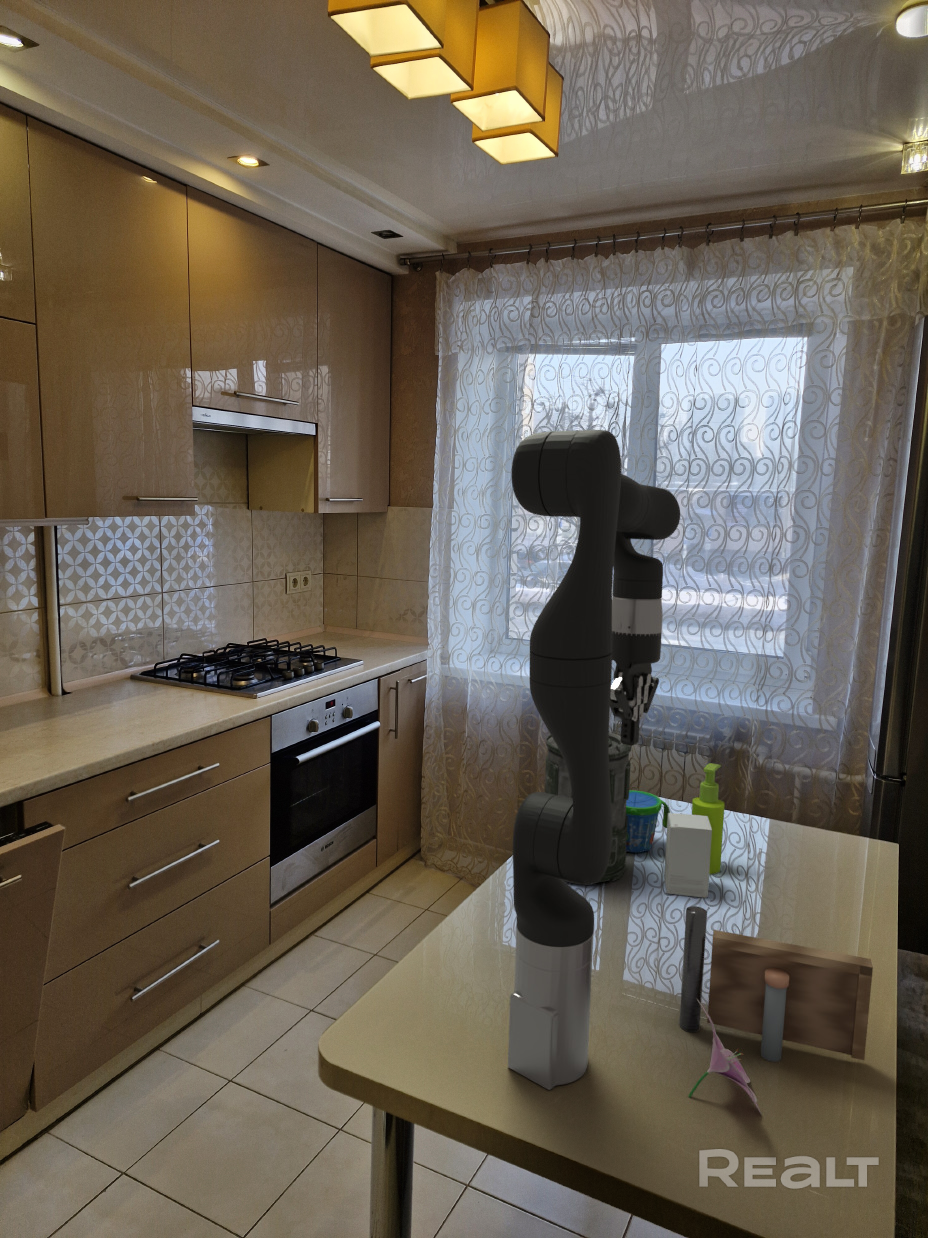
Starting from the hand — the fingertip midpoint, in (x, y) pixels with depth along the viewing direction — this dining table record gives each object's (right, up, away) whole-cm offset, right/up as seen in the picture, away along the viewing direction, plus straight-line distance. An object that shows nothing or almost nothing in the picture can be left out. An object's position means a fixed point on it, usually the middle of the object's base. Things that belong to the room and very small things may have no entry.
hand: (629, 743), depth 120 cm
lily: (+6, -37, -27) cm, 46 cm away
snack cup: (+10, -28, +45) cm, 54 cm away
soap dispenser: (+22, -29, +36) cm, 51 cm away
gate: (+16, -35, -18) cm, 42 cm away
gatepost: (+5, -35, -14) cm, 38 cm away
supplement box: (+16, -30, +27) cm, 43 cm away
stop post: (+14, -36, -19) cm, 43 cm away
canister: (-2, -29, +34) cm, 45 cm away
